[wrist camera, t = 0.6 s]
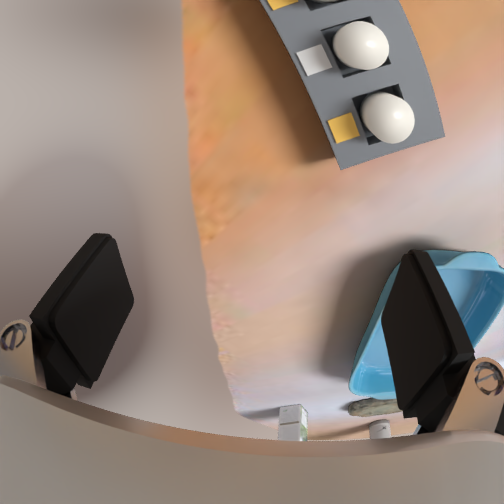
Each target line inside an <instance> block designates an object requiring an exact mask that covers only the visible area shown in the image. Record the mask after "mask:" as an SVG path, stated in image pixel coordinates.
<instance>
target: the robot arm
mask: <svg viewBox="0 0 504 504" xmlns="http://www.w3.org/2000/svg"><path fill="white" fill-rule="evenodd" d="M133 303H134V297H133V294H132V291H131V288H130V285H129V282H128V279H127V276H126V273H125V269H124V266H123V263H122V260H121V257H120V253H119V250H118V246H117V243H116V240H115V239H114V238H112V236H111V235H110V234H100V233H95V234H93V235H92V236H91V237H90V238H89V239H88V240H87V241H86V243H85V244H84V245H83V246H82V247H81V249H80V250H79V251H78V252H77V253H76V255H75V256H74V257H73V258H72V260H71V261H70V262H69V263H68V264H67V266H66V267H65V268H64V270H63V271H62V272H61V273H60V275H59V276H58V277H57V278H56V280H55V281H54V282H53V284H52V285H51V286H50V288H49V289H48V290H47V292H46V293H45V295H44V296H43V297H42V298H41V300H40V301H39V303H38V304H37V305H36V307H35V308H34V310H33V311H32V313H31V314H30V318H31V319H32V321H33V323H32V324H31V326H30V325H29V323H28V322H27V321H25V320H15V321H12V322H11V323H9V324H7V326H5V327H4V328H3V329H2V331H1V332H0V504H504V369H503V368H502V367H501V365H500V364H499V363H497V362H496V361H495V360H493V359H491V358H486V357H482V358H478V359H475V356H474V353H475V351H474V349H473V346H472V344H471V341H470V339H469V336H468V334H467V331H466V329H465V327H464V324H463V322H462V320H461V317H460V315H459V313H458V311H457V309H456V306H455V304H454V302H453V300H452V298H451V296H450V294H449V292H448V290H447V288H446V286H445V284H444V282H443V280H442V278H441V276H440V274H439V272H438V270H437V268H436V266H435V264H434V263H433V261H432V259H431V257H430V255H429V254H428V252H426V251H417V250H410V251H409V252H408V254H405V255H404V256H403V257H402V260H401V263H400V266H399V269H398V272H397V275H396V277H395V280H394V283H393V286H392V289H391V291H390V294H389V297H388V299H387V302H386V304H385V307H384V309H383V312H382V315H381V325H382V329H383V334H384V338H385V342H386V347H387V352H388V356H389V361H390V366H391V371H392V376H393V382H394V387H395V393H396V399H397V405H398V408H399V409H400V410H403V416H404V418H412V417H417V419H418V424H419V425H418V427H417V428H416V430H415V431H414V433H413V435H410V436H401V437H392V438H380V439H367V440H350V441H283V440H266V439H253V438H242V437H233V436H225V435H217V434H210V433H203V432H198V431H191V430H186V429H180V428H176V427H171V426H165V425H161V424H157V423H152V422H148V421H144V420H140V419H136V418H132V417H128V416H124V415H121V414H117V413H114V412H110V411H107V410H104V409H101V408H97V407H94V406H91V405H88V404H85V403H82V402H79V401H78V399H77V396H76V392H75V389H74V387H75V385H76V382H77V384H78V385H81V386H84V387H87V388H90V389H91V387H92V384H93V382H94V381H97V380H98V378H99V376H100V374H101V372H102V369H103V367H104V365H105V363H106V360H107V358H108V356H109V354H110V352H111V350H112V348H113V345H114V343H115V341H116V339H117V337H118V335H119V333H120V331H121V329H122V327H123V325H124V323H125V321H126V319H127V317H128V315H129V313H130V311H131V309H132V307H133Z"/></svg>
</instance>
